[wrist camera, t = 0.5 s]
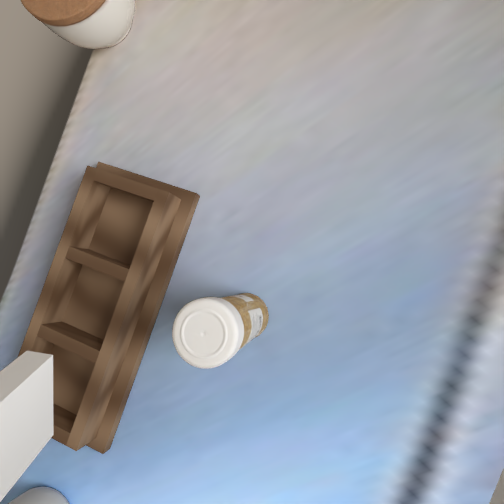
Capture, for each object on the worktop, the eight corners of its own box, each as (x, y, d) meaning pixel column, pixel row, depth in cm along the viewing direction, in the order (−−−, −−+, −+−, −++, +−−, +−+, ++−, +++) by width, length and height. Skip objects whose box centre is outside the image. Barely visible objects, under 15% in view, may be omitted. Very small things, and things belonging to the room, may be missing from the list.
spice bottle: (243, 283, 37) (199, 283, 24) (278, 313, 36) (252, 329, 23) (216, 319, 37) (156, 337, 24) (250, 349, 36) (207, 385, 23)
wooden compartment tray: (104, 165, 41) (80, 151, 37) (200, 196, 39) (185, 185, 35) (19, 401, 41) (-16, 414, 37) (109, 448, 38) (83, 468, 34)
